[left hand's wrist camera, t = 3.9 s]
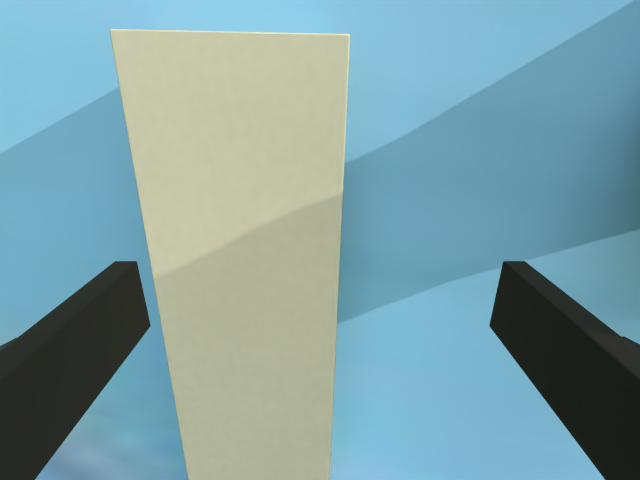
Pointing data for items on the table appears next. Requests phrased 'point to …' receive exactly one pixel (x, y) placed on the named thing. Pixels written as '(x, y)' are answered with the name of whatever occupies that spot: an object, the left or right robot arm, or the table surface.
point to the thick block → (243, 236)
